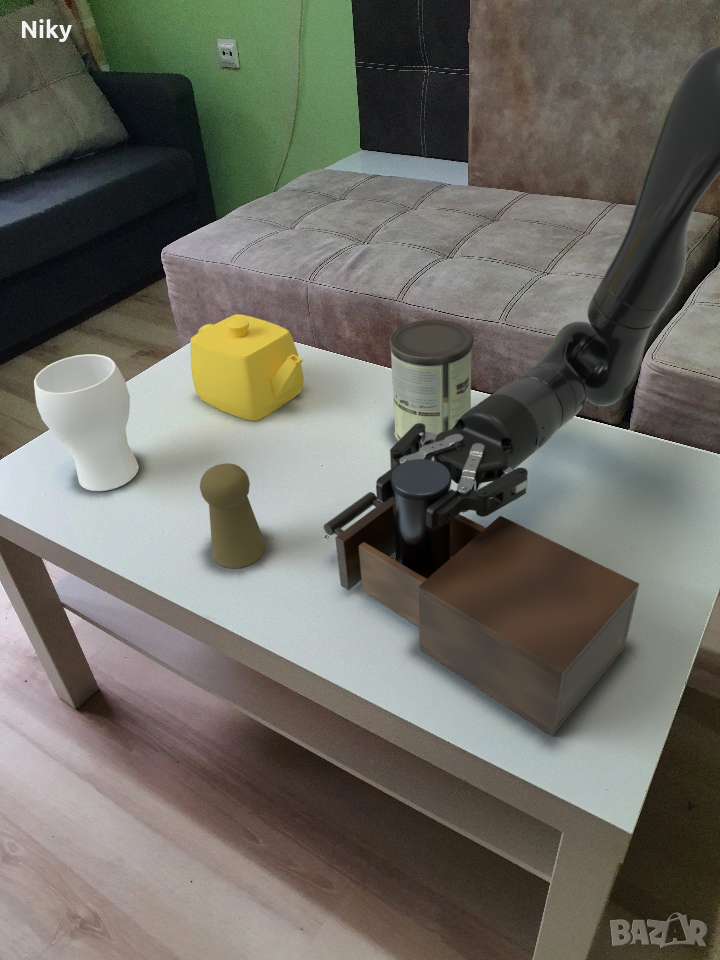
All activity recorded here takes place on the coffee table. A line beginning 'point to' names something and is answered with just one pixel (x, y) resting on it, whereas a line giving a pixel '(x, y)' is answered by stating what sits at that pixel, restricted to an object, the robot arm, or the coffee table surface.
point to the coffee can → (430, 375)
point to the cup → (89, 417)
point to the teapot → (245, 366)
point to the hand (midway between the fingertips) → (404, 506)
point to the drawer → (384, 554)
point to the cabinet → (526, 620)
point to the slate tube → (419, 515)
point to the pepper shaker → (231, 516)
